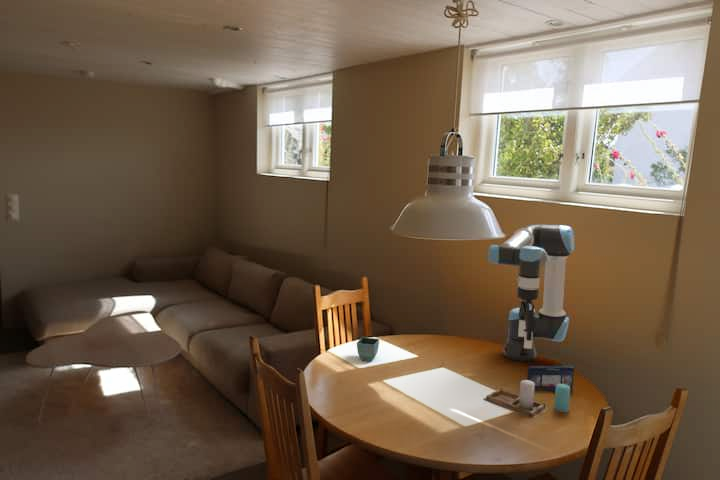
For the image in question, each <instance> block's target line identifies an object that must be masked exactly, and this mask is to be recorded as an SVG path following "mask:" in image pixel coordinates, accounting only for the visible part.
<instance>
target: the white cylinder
mask: <svg viewBox="0 0 720 480" xmlns="http://www.w3.org/2000/svg"><path fill="white" fill-rule="evenodd" d="M519 384H520V387H519V395H520V400H519V407H521V408H523V409H526V410H529V411H532V410H533V402H534V401H535V400H534V399H535V389H534V386H535V383H534V382H532V381H530V380H527V379H523V380H521V381H520V383H519Z"/></svg>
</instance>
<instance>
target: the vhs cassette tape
mask: <svg viewBox="0 0 720 480" xmlns="http://www.w3.org/2000/svg"><path fill="white" fill-rule="evenodd" d="M574 375H575V367H574V366H572V365H528V366H527V378H526V380H530V381H532V382H534V383H535V386H534V390H537V389H538V390H542V391H546V392H555V391H556V384H566V385H568V386H570V392H572V391H573V389H574V388H573V387H574Z"/></svg>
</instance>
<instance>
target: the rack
mask: <svg viewBox="0 0 720 480" xmlns="http://www.w3.org/2000/svg"><path fill="white" fill-rule="evenodd" d="M482 400H483V401H485V402H488V403H491V404H492V405H496V406H498V407H501V408H503V409H505V410H509V411H512V412H514V413H516V414H519V415H520V416H524V417H527V418H529V419H531V420H535V419H536V418H537V417H539V416H540V415H541V414H543V413H545V412H547V410H549V408H550V407H549V408H548V407H546V404H545V403H542V402H539V401H537V400H534V402H533V410H532V411H529V410H526V409H523V408H521V407H519V400H520V394H517V393H514V392H511V391H508V390H506V389H503V388H499V389H497V390H495V391H493V392H491V393H489V394H487V395H486V397H485V398H483V399H482Z"/></svg>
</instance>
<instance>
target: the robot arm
mask: <svg viewBox="0 0 720 480" xmlns="http://www.w3.org/2000/svg"><path fill="white" fill-rule="evenodd" d="M574 250H575V234H574V231H573V228H572V227H571V226H568V225H562V224H546V223H531V224H527V225H525V226H522V227H520V228H518V229H516V230H515V231H514V233H513V234H512V236H510V238H509V239H507V240H506V241H505V242H503V243H502V244H500V245H498V244H491V245H490V246H489V247H488V251H487V260H488V262H489V263H491V264H495V265H503V266H504V265H505V266H512V267H513V266H514V267H515V266H516V267H518V278H516V281H517V282H518V283H517V286H518V287H517V291H516V292H517V293H516V294H517V295H516V296H517V297H518V299H520V303H519V307H514V308H513V309H510V311H509V317H508V328H507V330H508V331H507V334H508V335H507V340H506V343H505V344H504V348H503V352H502V353H503V356H505V358H508V359H509V360H510V359H511V360H514V361H522V362H529V361H533V360H535V359H537V351H536V346H535V344H534V338H536V339H543V340H548V341H552V342H563V341H565V338H566V336H567V332H568V328H569V324H570V317H568V316H567V314H566V311H565V310H564V309H563V307H564V295H565V294H564V292H565V291H564V290H565V279H566V278H565V276H566V265H567V264H566V262H567V259H568V258H569V257H570V255H571V253H573V252H574ZM544 266H545V267H544ZM542 267H544V282H543V301H542V308H540V309H539V312H536V309H535V305H534V303H533V301H536V300H538V298H539V293H540V292H539V287H540V272H541V268H542Z"/></svg>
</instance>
